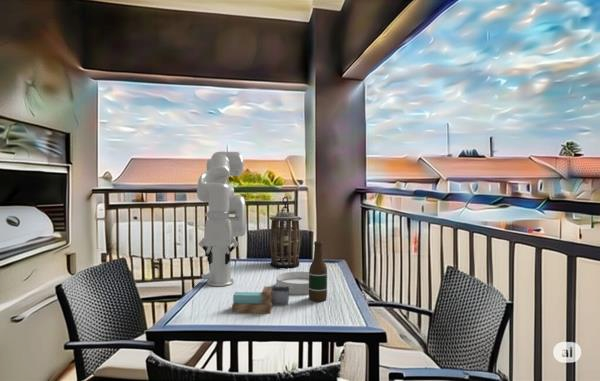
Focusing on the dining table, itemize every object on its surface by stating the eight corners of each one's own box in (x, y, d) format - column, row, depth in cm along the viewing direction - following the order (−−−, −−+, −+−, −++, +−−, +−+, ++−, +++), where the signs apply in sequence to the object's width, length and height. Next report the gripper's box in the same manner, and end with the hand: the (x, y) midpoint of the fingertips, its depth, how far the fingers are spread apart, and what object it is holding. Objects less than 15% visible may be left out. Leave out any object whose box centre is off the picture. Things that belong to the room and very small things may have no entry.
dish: (292, 279, 188) (292, 269, 188) (332, 285, 177) (332, 275, 177) (266, 290, 169) (266, 279, 169) (308, 298, 158) (308, 286, 158)
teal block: (233, 305, 141) (233, 295, 141) (235, 302, 145) (235, 292, 145) (265, 306, 140) (265, 295, 140) (266, 302, 144) (266, 292, 144)
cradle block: (267, 304, 148) (267, 292, 148) (269, 298, 156) (269, 286, 156) (287, 304, 148) (287, 292, 148) (289, 298, 156) (289, 286, 156)
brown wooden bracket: (232, 312, 139) (232, 291, 139) (236, 305, 147) (236, 286, 146) (269, 313, 139) (270, 292, 138) (272, 306, 146) (272, 286, 146)
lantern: (299, 261, 229) (299, 196, 228) (303, 268, 210) (304, 197, 209) (267, 262, 227) (267, 195, 226) (269, 269, 207) (269, 197, 207)
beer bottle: (321, 303, 150) (322, 243, 150) (305, 299, 155) (305, 241, 154) (330, 298, 157) (331, 241, 157) (314, 295, 161) (314, 239, 161)
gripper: (193, 216, 139) (193, 265, 139) (239, 217, 138) (239, 266, 139) (199, 214, 146) (199, 261, 147) (243, 215, 146) (243, 261, 146)
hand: (218, 263), depth 143 cm, fingers open, 5 cm apart
